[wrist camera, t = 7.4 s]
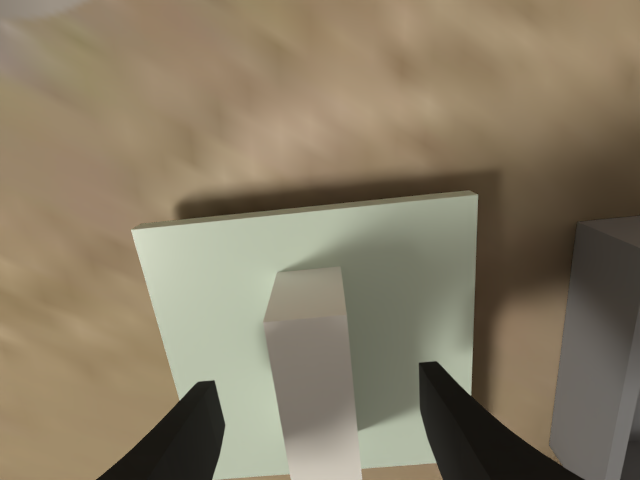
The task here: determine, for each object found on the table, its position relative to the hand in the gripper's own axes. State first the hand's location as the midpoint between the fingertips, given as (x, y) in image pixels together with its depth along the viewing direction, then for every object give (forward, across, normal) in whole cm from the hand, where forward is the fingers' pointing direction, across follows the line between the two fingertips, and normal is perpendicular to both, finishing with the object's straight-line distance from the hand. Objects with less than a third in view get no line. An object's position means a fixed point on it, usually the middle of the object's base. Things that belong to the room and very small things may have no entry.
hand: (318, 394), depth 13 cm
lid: (+4, 0, 0) cm, 4 cm away
